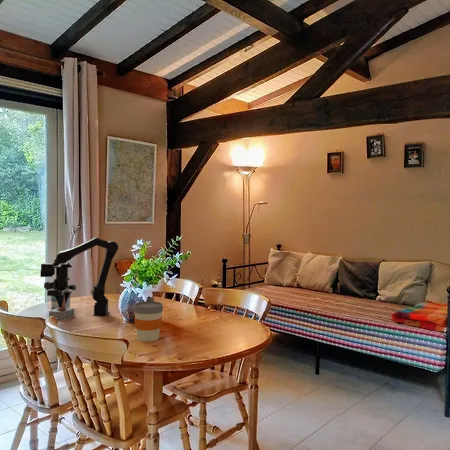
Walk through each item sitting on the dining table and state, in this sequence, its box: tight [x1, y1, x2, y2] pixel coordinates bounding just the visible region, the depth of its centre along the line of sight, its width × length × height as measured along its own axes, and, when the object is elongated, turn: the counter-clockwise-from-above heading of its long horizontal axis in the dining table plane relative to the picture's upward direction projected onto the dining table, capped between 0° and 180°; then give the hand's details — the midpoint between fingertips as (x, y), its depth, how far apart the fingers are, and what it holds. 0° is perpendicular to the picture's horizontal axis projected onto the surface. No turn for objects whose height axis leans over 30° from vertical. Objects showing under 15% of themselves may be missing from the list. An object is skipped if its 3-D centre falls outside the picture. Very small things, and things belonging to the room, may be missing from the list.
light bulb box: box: [50, 289, 71, 310], centre depth 238 cm, size 11×7×11 cm, turn 179°
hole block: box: [48, 307, 75, 321], centre depth 223 cm, size 9×9×4 cm
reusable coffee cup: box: [133, 301, 164, 343], centre depth 190 cm, size 13×13×15 cm
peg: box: [59, 297, 65, 311], centre depth 223 cm, size 3×3×10 cm
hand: (61, 306), depth 223 cm, fingers closed on peg, 3 cm apart
